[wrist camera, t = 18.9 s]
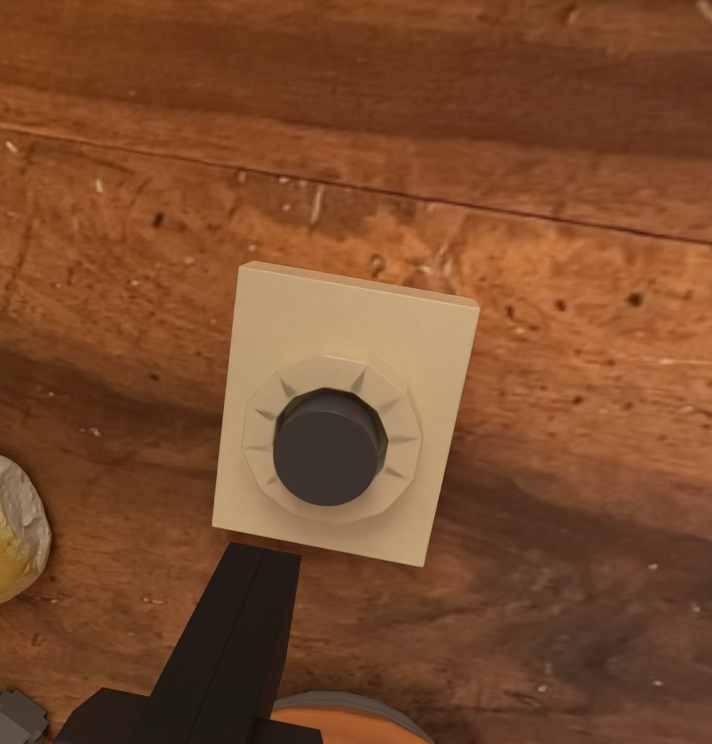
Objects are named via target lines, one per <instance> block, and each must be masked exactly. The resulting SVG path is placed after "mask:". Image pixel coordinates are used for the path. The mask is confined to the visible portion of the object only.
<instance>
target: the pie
mask: <svg viewBox="0 0 712 744" xmlns="http://www.w3.org/2000/svg"><path fill="white" fill-rule="evenodd" d="M270 719H271V720H276V721H281V722H286V723H291V724H296V725H300V726H305V727H310V728H315V729H320V731H321V735H322V739H323V742H324V744H435V743H434V741H433V740H432V739H431V738H430V737H429V736H428V735H427V734H426V733H425V732H424V731H423V730H422V729H421V728H420V727H419V726H417V725H416V724H415V723H414V722H413V721H412V720H411V719H410V718H409V717H408V716H407V715H405V714H403V713H401V712H399V711H398V710H396V709H394V708H392V707H390V706H388V705H386V704H384V703H382V702H381V701H379V700H377V699H373V698H369V697H365V696H361V695H357V694H354V693H350V692H346V691H309V692H304V693H300V694H296V695H291V696H287V697H283V698H280V699H279V700H277V701H275V702H274V706H273V710H272V713H271V717H270Z"/></svg>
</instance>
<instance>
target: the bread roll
mask: <svg viewBox="0 0 712 744" xmlns="http://www.w3.org/2000/svg"><path fill="white" fill-rule="evenodd" d="M51 539H52V533H51V530H50V527H49V523H48V520H47V518H46V515H45V511H44V506H43V504H42V501H41V498H40V497H39V495H38V493H37V491H36V489H35V487H34V486H33V484H32V483H31V481H30V479H29V477H28V476H27V474H26V473H25V472H24V470H23V469H22V468H21V467H20V466H18V465H17V464H16V463H14V462H13V461H12V460H10V459H8V458H6V457H4V456H2V455H0V603H2V602H5V601H8V600H10V599H11V598H13V597H14V596H16V595H17V594H19V593H20V592H22V591H23V590H25V589H26V588H27V587H29V586H30V585H31V584H32V583H33V582H34V581H35V580H36V579H37V578H38V577H39V576H40V575H41V573H42V572H43V570H44V568H45V566H46V563H47V560H48V557H49V552H50V545H51Z"/></svg>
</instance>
